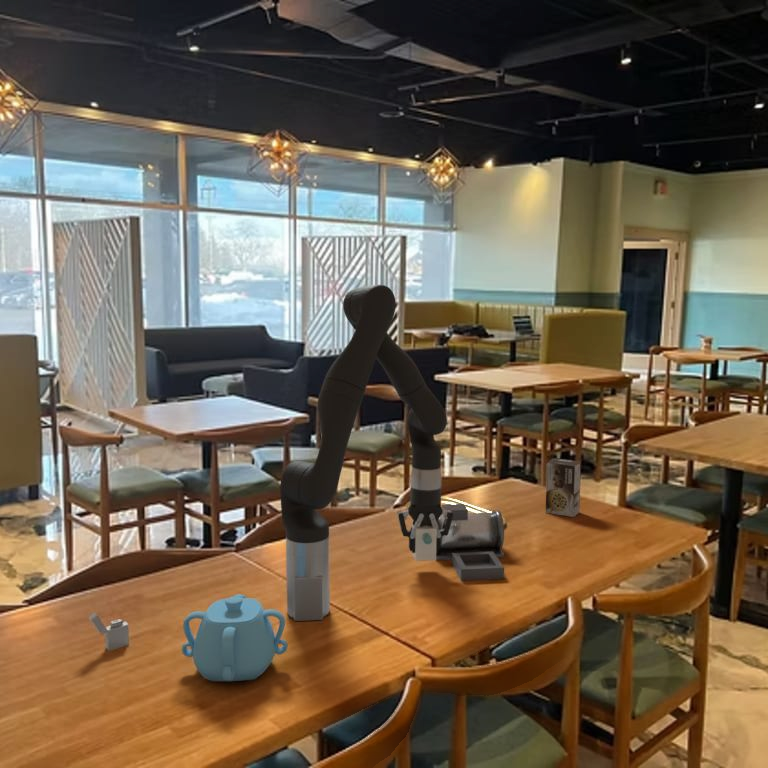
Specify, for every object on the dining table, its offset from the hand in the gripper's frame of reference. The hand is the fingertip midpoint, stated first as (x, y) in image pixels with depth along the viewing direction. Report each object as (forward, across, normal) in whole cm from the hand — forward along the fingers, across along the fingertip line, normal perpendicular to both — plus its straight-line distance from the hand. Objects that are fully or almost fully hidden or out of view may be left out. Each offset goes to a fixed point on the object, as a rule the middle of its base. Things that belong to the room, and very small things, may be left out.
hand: (424, 551), depth 186 cm
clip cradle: (+5, +13, 0) cm, 14 cm away
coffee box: (+4, +50, +41) cm, 65 cm away
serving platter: (+5, +16, +41) cm, 44 cm away
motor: (+5, +13, +13) cm, 19 cm away
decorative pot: (+6, -42, -42) cm, 60 cm away
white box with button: (+1, 0, -1) cm, 2 cm away
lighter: (+6, -68, -32) cm, 75 cm away
